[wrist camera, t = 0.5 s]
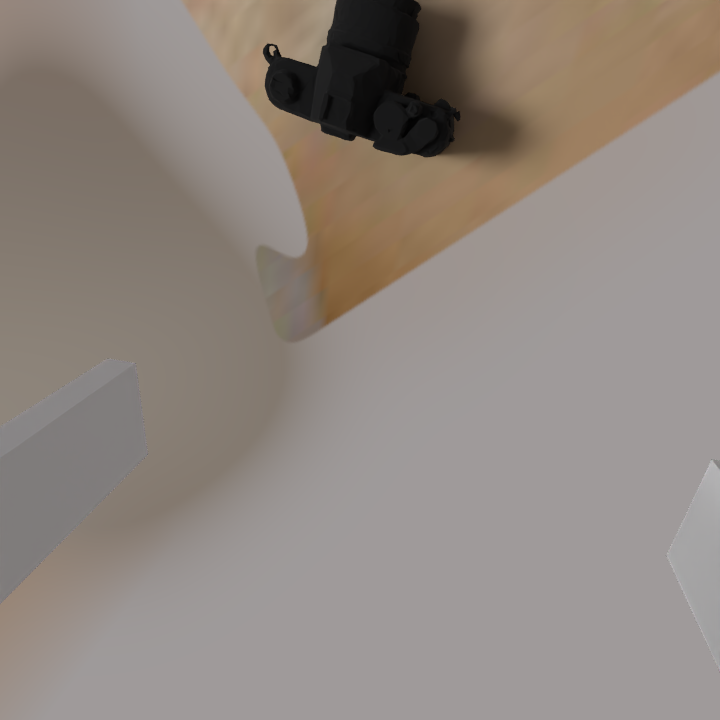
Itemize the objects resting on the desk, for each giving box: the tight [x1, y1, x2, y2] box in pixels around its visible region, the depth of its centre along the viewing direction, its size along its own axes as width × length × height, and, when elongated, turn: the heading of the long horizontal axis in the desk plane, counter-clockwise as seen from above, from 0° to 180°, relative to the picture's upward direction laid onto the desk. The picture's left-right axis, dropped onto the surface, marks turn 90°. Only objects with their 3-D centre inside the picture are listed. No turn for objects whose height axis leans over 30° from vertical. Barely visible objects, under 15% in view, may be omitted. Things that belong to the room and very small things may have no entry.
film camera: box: [263, 0, 460, 157], centre depth 36 cm, size 15×10×9 cm, turn 73°
